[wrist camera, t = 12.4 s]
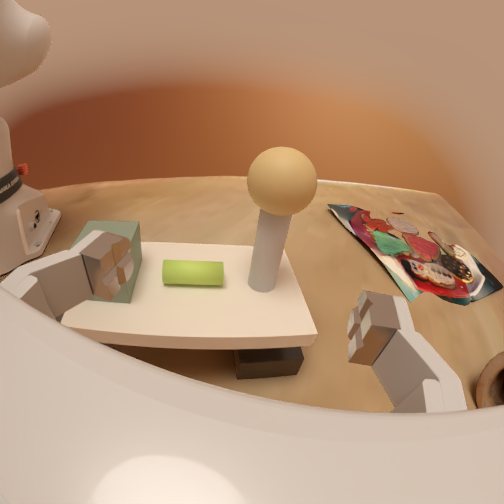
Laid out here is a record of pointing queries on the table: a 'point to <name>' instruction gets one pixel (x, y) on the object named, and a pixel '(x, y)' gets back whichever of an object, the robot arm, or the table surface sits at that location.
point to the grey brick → (262, 361)
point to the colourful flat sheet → (420, 259)
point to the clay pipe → (491, 383)
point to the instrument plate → (201, 306)
